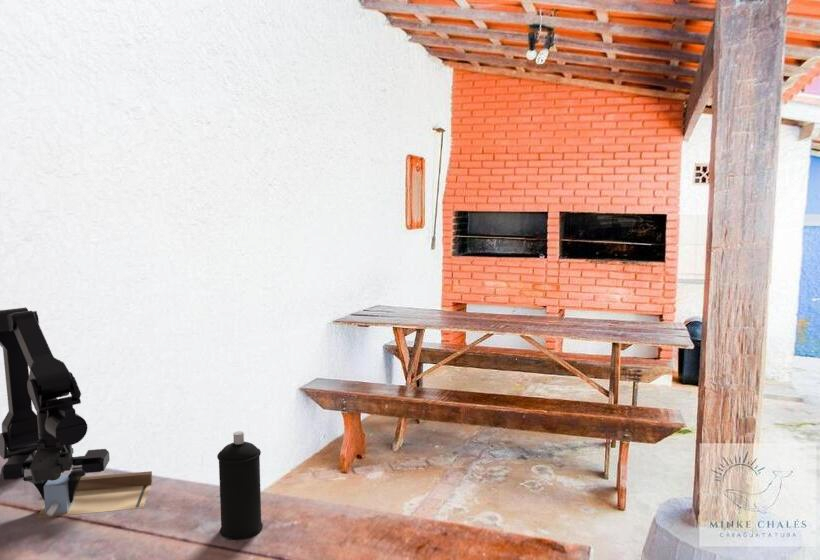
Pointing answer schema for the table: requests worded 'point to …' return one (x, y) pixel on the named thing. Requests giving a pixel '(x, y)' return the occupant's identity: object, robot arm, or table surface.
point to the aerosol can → (240, 489)
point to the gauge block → (57, 496)
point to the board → (108, 493)
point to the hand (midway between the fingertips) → (60, 503)
